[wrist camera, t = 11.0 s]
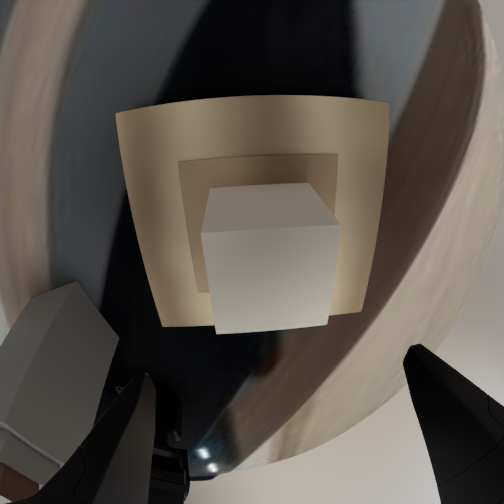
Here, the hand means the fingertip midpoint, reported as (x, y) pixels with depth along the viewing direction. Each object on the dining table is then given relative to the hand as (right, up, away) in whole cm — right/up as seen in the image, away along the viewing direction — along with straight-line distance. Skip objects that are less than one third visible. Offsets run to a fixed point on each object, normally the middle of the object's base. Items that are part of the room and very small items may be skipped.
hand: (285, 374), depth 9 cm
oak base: (-1, +7, +10) cm, 12 cm away
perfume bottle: (-17, -2, +14) cm, 22 cm away
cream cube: (-1, +5, +7) cm, 9 cm away
